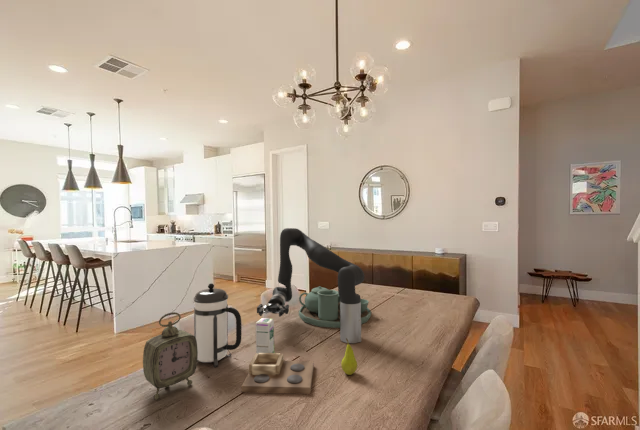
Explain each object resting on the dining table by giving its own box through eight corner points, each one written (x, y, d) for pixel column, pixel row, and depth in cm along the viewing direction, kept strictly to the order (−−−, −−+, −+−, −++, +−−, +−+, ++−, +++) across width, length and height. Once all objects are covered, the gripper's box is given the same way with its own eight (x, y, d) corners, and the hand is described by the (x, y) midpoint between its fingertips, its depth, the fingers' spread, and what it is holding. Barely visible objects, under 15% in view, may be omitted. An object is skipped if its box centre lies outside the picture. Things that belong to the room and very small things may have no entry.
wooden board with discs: (313, 366, 119) (313, 353, 119) (310, 393, 101) (310, 378, 101) (255, 365, 120) (255, 352, 120) (241, 392, 102) (241, 376, 102)
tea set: (383, 324, 165) (383, 292, 165) (307, 332, 155) (307, 298, 155) (355, 303, 203) (355, 277, 203) (293, 308, 193) (293, 281, 193)
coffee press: (193, 374, 114) (193, 290, 114) (189, 356, 128) (188, 281, 128) (242, 363, 122) (241, 285, 122) (232, 347, 136) (232, 277, 136)
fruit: (353, 379, 110) (353, 344, 110) (338, 375, 113) (338, 341, 113) (360, 372, 115) (360, 339, 115) (345, 368, 118) (345, 336, 118)
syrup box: (269, 360, 125) (269, 322, 125) (255, 358, 126) (255, 322, 126) (274, 353, 130) (274, 318, 130) (261, 352, 132) (260, 317, 132)
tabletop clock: (152, 404, 96) (151, 321, 96) (140, 393, 102) (140, 315, 102) (197, 384, 107) (197, 310, 107) (184, 375, 113) (184, 305, 113)
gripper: (262, 295, 156) (254, 305, 140) (291, 295, 155) (286, 306, 139) (262, 310, 156) (253, 322, 140) (291, 311, 155) (286, 323, 139)
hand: (270, 314), depth 140 cm, fingers open, 8 cm apart
